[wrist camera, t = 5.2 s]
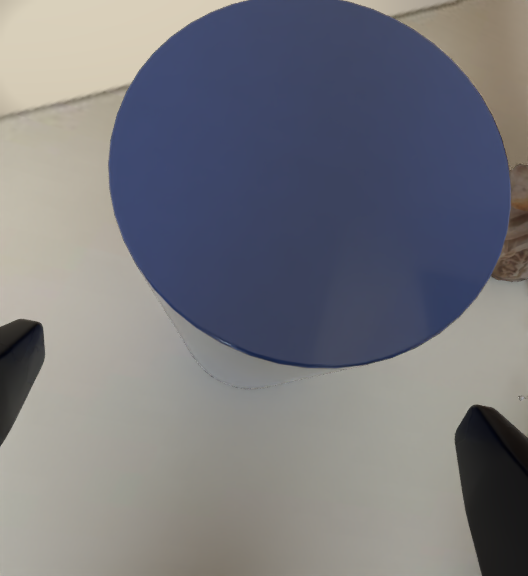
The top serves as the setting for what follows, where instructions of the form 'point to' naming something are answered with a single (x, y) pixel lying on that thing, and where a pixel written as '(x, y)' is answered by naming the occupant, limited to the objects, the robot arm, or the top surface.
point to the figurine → (515, 231)
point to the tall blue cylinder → (307, 188)
